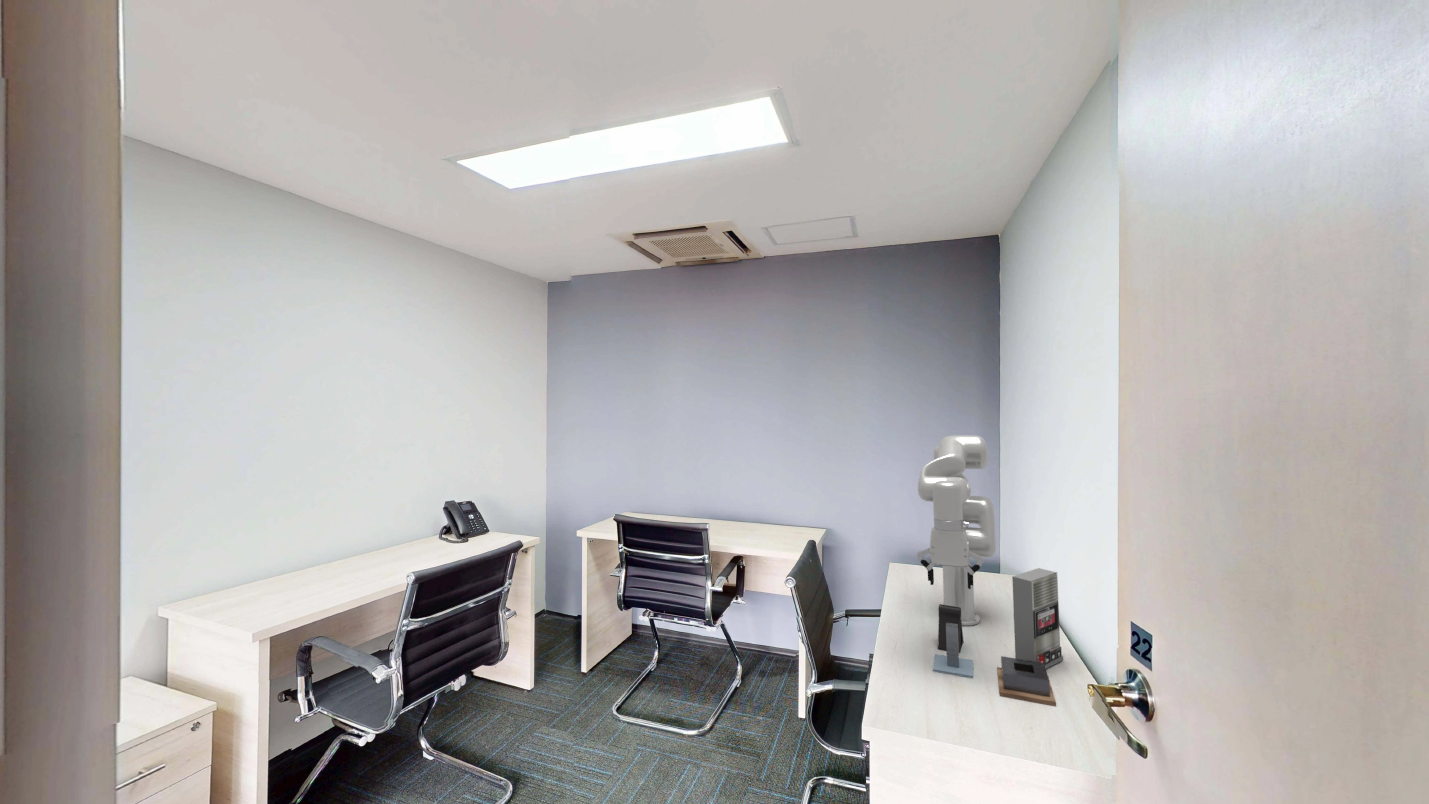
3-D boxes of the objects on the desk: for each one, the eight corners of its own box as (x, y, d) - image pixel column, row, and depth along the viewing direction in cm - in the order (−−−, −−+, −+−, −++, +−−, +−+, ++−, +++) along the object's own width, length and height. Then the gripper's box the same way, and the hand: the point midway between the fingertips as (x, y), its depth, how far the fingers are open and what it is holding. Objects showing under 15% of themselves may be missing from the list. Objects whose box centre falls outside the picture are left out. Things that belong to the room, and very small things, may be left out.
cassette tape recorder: (1037, 674, 143) (1034, 582, 144) (1015, 665, 148) (1011, 576, 149) (1064, 661, 150) (1060, 573, 151) (1041, 653, 156) (1038, 567, 156)
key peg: (947, 661, 151) (946, 622, 151) (959, 663, 150) (957, 624, 150) (947, 666, 148) (945, 626, 148) (959, 668, 147) (957, 628, 147)
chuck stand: (997, 670, 146) (997, 666, 146) (1048, 679, 141) (1048, 675, 141) (999, 695, 133) (999, 691, 133) (1055, 706, 128) (1055, 701, 128)
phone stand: (959, 653, 157) (958, 613, 157) (937, 649, 160) (936, 609, 160) (963, 642, 164) (962, 603, 164) (943, 638, 167) (941, 600, 168)
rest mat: (935, 655, 156) (935, 653, 156) (972, 661, 151) (972, 659, 151) (933, 671, 147) (933, 669, 147) (973, 678, 142) (973, 676, 142)
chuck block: (1001, 670, 144) (1001, 656, 144) (1044, 678, 140) (1044, 662, 140) (1003, 688, 135) (1003, 673, 135) (1049, 697, 130) (1049, 680, 131)
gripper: (982, 524, 149) (984, 584, 149) (916, 520, 157) (919, 578, 157) (982, 530, 143) (985, 593, 142) (914, 525, 150) (916, 586, 150)
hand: (950, 585), depth 150 cm, fingers open, 9 cm apart
